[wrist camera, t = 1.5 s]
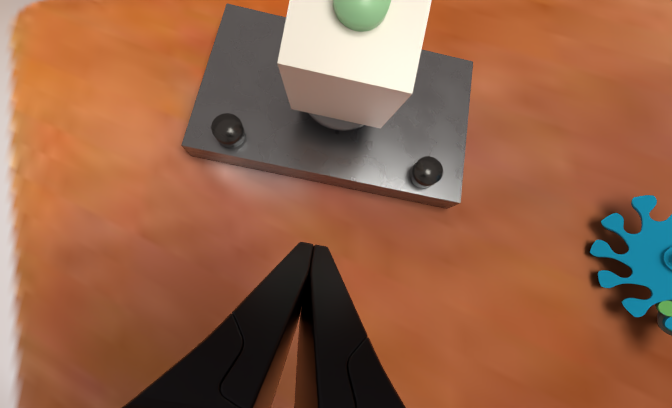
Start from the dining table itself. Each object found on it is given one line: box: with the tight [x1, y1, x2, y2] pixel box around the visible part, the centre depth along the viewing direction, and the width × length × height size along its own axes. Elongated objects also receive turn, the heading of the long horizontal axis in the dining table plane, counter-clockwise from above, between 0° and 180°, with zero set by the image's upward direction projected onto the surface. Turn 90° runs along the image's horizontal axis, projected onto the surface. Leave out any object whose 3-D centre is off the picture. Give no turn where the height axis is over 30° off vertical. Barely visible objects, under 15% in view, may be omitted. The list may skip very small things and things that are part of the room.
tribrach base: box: [182, 4, 473, 208], centre depth 24 cm, size 12×20×3 cm, turn 80°
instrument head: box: [277, 0, 431, 131], centre depth 17 cm, size 10×6×9 cm, turn 170°
